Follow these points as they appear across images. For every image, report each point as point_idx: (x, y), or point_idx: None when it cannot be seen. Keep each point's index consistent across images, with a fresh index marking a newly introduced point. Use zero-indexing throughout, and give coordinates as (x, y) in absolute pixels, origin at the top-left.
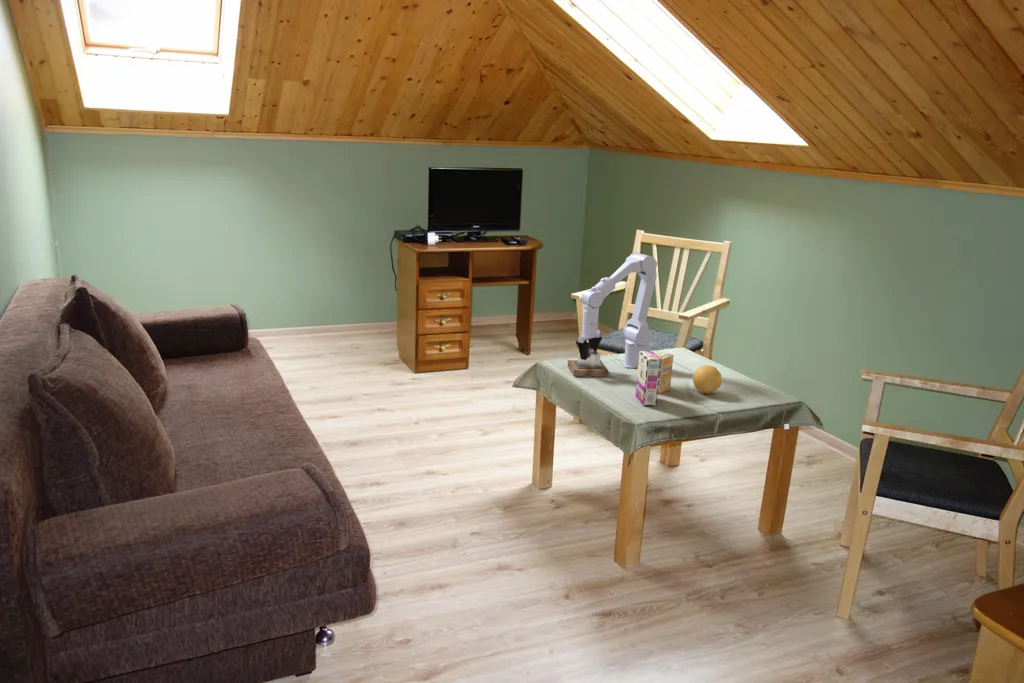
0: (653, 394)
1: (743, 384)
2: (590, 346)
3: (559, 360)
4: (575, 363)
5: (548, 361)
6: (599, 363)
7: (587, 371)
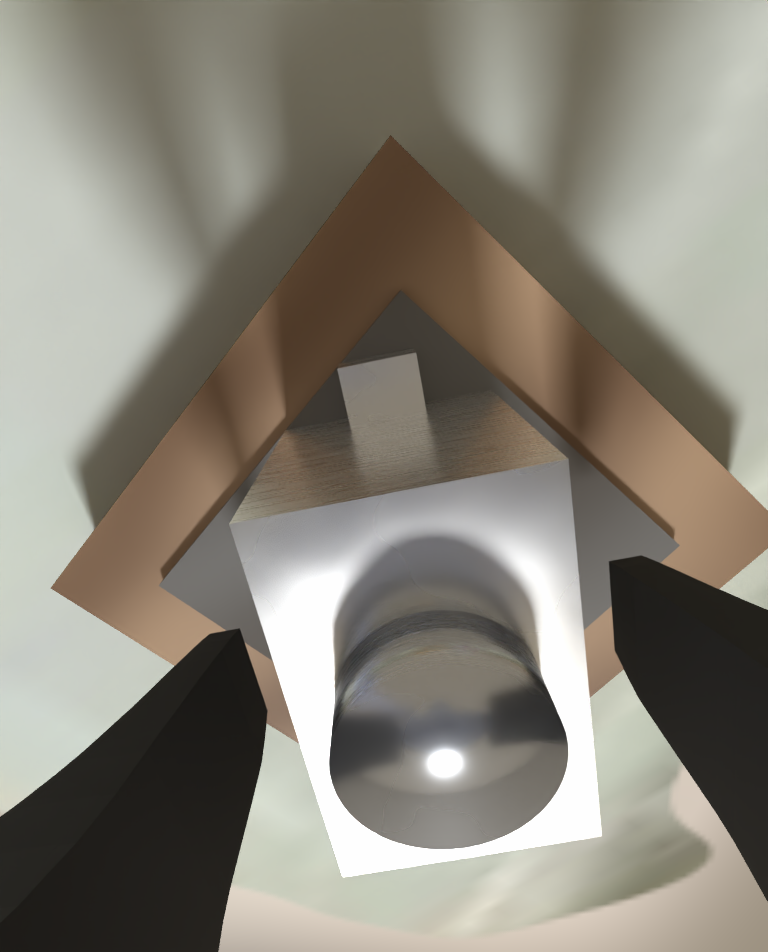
0: None
1: None
2: (217, 875)
3: (325, 903)
4: None
5: (436, 934)
6: (294, 434)
7: (642, 394)
